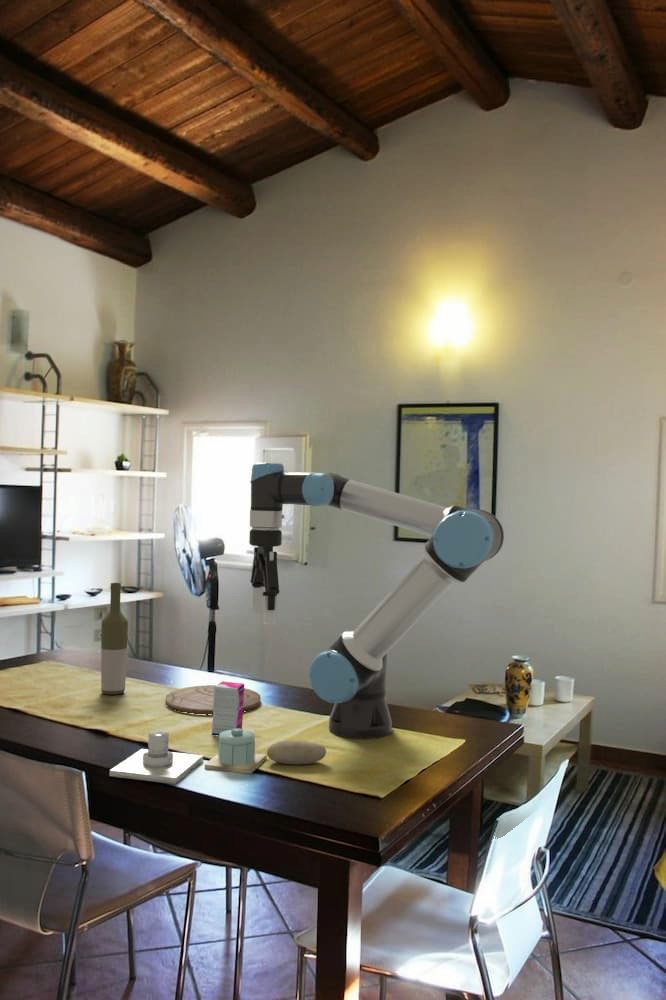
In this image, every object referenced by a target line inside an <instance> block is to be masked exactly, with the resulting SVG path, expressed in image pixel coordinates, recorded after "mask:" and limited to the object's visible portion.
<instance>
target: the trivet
mask: <svg viewBox="0 0 666 1000" xmlns="http://www.w3.org/2000/svg"><path fill="white" fill-rule="evenodd" d="M216 685H217V684H215V685H211V684H209V685H208V684H207V685H206V684H205V685H195V686H188V687H183V688H178V689H175V690H173V691H170V692H169V693H168V694H166V695H165V704H166V705H167V706H168V707H169V708H171V709H173V710H176V711H180V712H187V713H194V714H206V715H208V714H212V715H213V704H214V687H215V686H216ZM261 700H262V699H261V694H260V693H259V692H257V691H255V690H253V689H249V688H245V687H244V700H243V712H244V711H248V712H250V711H249V710H251V711H253V710H256V709H257V708H259V707H260V706H261ZM166 705H165V706H166ZM167 706H166V707H167ZM168 707H167V708H168ZM169 708H168V709H169ZM171 709H170V710H171ZM173 710H172V711H173ZM176 711H175V712H176ZM180 712H179V713H180ZM244 713H245V712H244Z"/></svg>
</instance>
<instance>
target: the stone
mask: <svg viewBox="0 0 666 1000" xmlns="http://www.w3.org/2000/svg"><path fill="white" fill-rule="evenodd" d="M326 755H327V749H326V747H325V746H323V745H322V744H320V743H315V742H311V741H303V740H280V741H277V742H275V743H273V744H271V745H270V746H269V747H268V748H267V750H266V756H267V757H268V758H269V759H270V760H272V761H274V762H277V763H280V764H285V765H309V764H313V763H317V762H319V761H321V760H323V759H324V758H325V756H326Z"/></svg>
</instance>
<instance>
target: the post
mask: <svg viewBox="0 0 666 1000" xmlns="http://www.w3.org/2000/svg"><path fill="white" fill-rule="evenodd" d="M147 743H148V745H147V749H146V748H141V749H139V750H138V751H136V752H134V753H133V754H131V755H130V756H129V757H127V758H126V759H124V760H123V761H121V762H119V763H118V764H117V765H115V766H114V767H113V768H111V769H109V777H113V778H120V779H121V778H122V779H123V778H124V779H127V780H128V779H131V780H139V781H147V782H155V783H162V784H170V785H172V784H173V785H176V784H178V783H179V782H180V781H181V780H182V779H184V778H185V777H186V776H188V775H189V774H190V773H191V772H192V771H193V770H194V769H196V768H197V767H198V766H199V765H200V764H201V763H203V762H204V755H200V754H193V753H184V752H183V753H182V752H174V751H169V732H167V731H162V730H161V731H160V730H159V731H158V730H157V731H152V732H150V733H148V741H147Z"/></svg>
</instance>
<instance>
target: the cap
mask: <svg viewBox="0 0 666 1000" xmlns="http://www.w3.org/2000/svg"><path fill="white" fill-rule="evenodd" d="M255 736H256V735H255V733H254V732H253V731H250V730H245V729H243V728H242V729H239V728H235V729H232V730H227V731H223V732H221V733H220V734H219V736H218V749H217V750H218V751H217V754H218V759H219V761H220V763H222V764H227V765H231V766H232V765H233V766H235V765H246V764H249V763H251V762H253V761H254V760H255V753H256V740H255V739H256V738H255Z"/></svg>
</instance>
